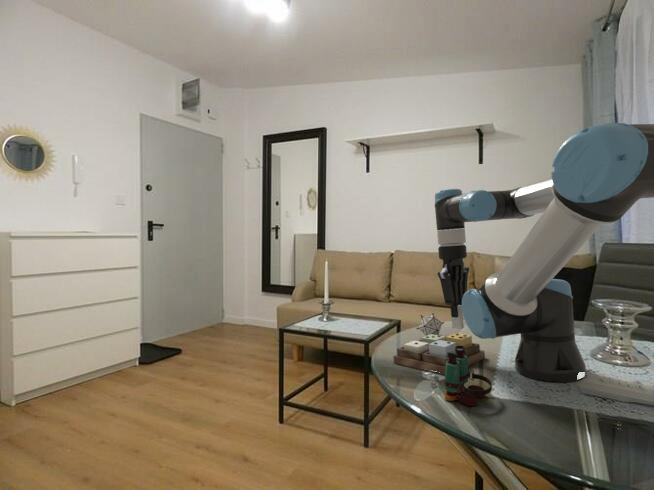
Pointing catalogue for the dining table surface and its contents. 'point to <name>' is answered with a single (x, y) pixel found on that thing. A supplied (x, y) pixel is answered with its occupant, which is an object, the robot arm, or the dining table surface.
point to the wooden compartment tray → (434, 358)
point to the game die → (430, 325)
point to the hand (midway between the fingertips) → (457, 327)
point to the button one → (416, 346)
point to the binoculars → (462, 379)
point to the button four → (460, 340)
